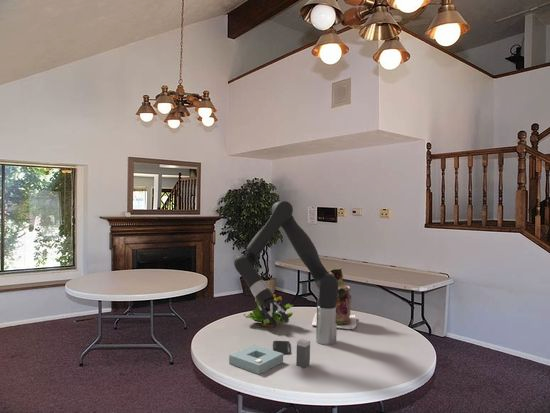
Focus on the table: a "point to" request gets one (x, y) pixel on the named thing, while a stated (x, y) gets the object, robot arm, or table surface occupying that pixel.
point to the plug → (303, 353)
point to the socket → (256, 359)
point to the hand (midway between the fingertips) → (281, 323)
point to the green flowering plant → (265, 322)
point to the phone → (281, 346)
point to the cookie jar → (341, 304)
